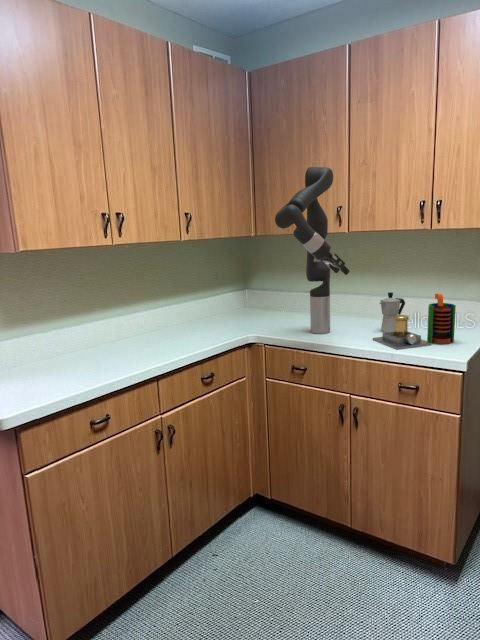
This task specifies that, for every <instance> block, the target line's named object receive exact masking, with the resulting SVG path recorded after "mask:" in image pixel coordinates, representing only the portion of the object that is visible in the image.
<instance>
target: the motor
mask: <svg viewBox="0 0 480 640" xmlns="http://www.w3.org/2000/svg"><path fill="white" fill-rule="evenodd" d="M434 299H436V300H437V302H433V303H432V302H431V303H429V304H428V314H427V336H426V337H427V338H426V339H427V340H426V341H428V342H431V343H432V345H433V344H434V345H440V346H441V345H443V346H445V345H450V344H451V343H452V344H454V343H455V325H456V324H455V323H456V309H457V308H456V305H455V304H454V303H449V302H447V303H446V302H444V296H443V293H440V292H439V293H434Z"/></svg>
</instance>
